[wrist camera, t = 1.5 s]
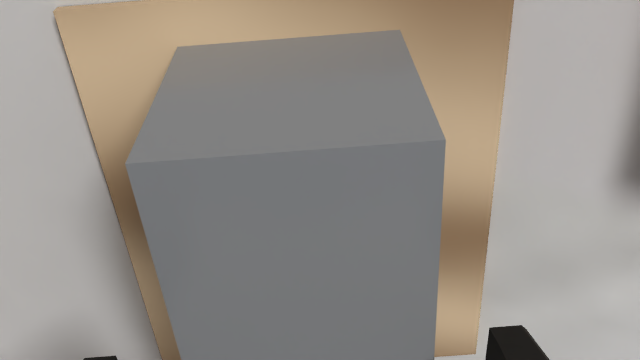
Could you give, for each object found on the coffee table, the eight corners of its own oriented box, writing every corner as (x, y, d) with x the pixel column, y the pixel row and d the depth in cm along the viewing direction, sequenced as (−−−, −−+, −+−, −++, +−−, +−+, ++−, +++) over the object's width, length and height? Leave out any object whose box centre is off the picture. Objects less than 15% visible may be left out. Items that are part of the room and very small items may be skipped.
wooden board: (473, 346, 20) (475, 353, 20) (168, 368, 20) (167, 375, 20) (512, -29, 13) (516, -25, 13) (57, 6, 13) (53, 11, 13)
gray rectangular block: (398, 337, 19) (426, 494, 15) (239, 349, 19) (224, 508, 15) (399, 29, 14) (445, 139, 9) (177, 46, 14) (125, 163, 9)
